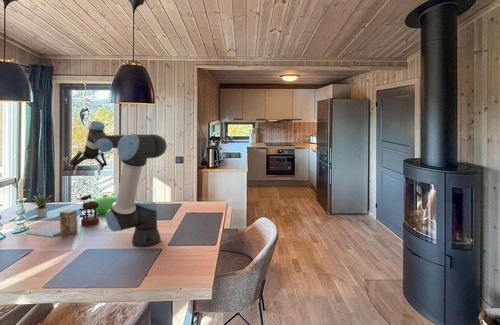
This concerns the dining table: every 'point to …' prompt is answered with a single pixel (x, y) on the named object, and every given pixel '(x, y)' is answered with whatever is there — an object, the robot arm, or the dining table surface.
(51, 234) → the mat
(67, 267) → the dining table surface
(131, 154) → the robot arm
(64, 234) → the brown rectangular block
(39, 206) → the house plant
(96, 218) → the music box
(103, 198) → the green rounded lump
